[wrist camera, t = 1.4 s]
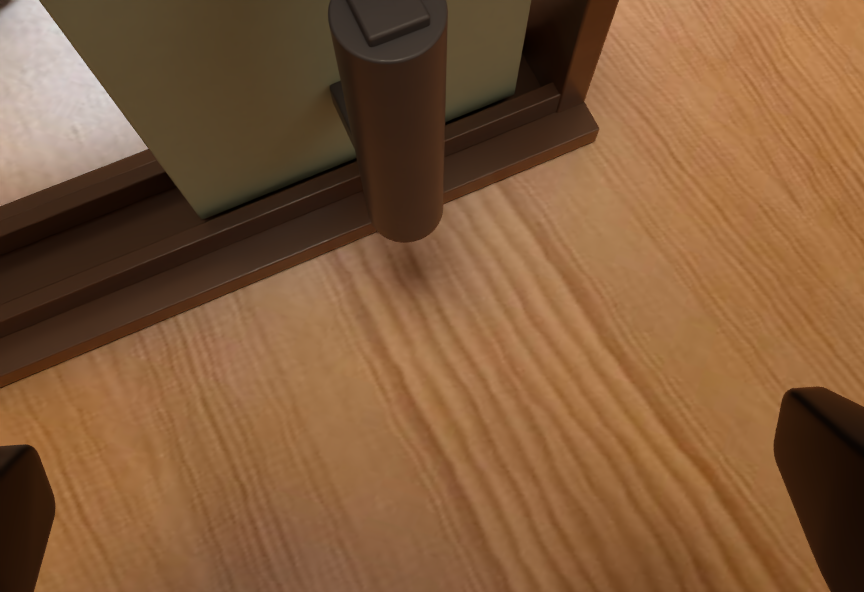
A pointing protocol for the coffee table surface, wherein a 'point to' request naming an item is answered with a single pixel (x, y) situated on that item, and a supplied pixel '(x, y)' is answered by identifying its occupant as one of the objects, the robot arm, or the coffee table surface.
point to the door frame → (255, 210)
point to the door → (301, 90)
